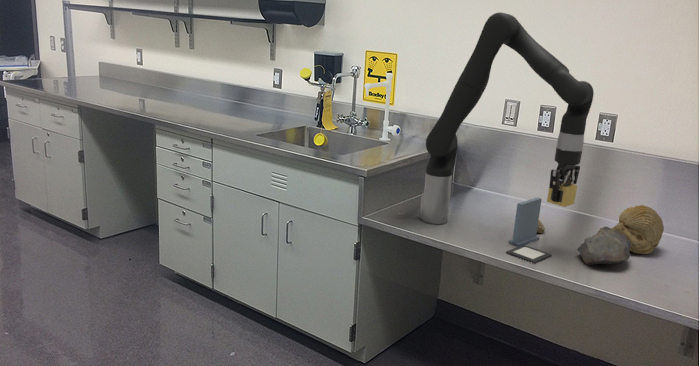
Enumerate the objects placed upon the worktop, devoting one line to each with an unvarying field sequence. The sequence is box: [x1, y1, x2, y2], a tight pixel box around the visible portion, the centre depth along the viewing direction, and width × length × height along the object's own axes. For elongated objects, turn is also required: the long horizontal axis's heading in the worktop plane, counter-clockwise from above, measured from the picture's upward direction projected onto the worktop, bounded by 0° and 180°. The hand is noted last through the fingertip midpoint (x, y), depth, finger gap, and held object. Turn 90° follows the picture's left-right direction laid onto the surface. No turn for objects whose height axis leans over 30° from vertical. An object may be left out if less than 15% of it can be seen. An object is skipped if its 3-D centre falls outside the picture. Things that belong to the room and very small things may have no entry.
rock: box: [537, 219, 546, 235], centre depth 205 cm, size 8×11×4 cm
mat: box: [505, 244, 553, 264], centre depth 181 cm, size 10×10×1 cm
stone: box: [576, 226, 632, 266], centre depth 178 cm, size 18×10×15 cm
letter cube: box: [546, 182, 578, 208], centre depth 181 cm, size 6×6×6 cm
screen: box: [508, 196, 542, 247], centre depth 191 cm, size 4×12×14 cm, turn 132°
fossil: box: [611, 204, 665, 255], centre depth 190 cm, size 15×17×15 cm
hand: (560, 199), depth 182 cm, fingers closed on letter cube, 6 cm apart
